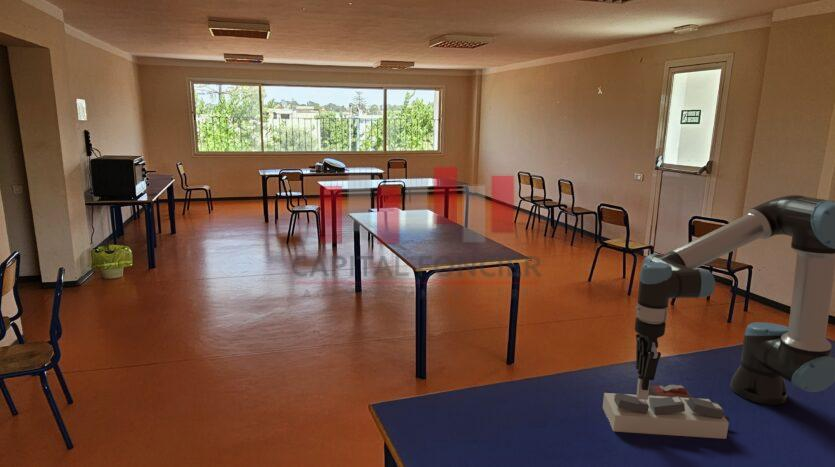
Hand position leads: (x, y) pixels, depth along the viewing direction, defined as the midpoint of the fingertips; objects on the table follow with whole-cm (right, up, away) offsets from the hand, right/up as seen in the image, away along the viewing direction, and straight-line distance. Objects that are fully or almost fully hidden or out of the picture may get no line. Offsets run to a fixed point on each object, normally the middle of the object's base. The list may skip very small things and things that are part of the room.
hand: (642, 397), depth 145 cm
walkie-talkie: (+19, -6, +16) cm, 26 cm away
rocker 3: (+17, -3, -1) cm, 17 cm away
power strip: (+9, -8, +4) cm, 13 cm away
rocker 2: (+7, -3, 0) cm, 8 cm away
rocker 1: (-3, -3, +1) cm, 4 cm away
